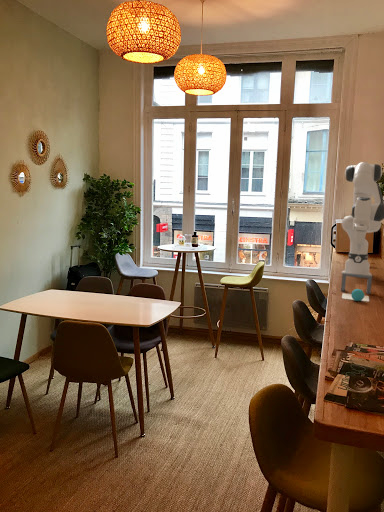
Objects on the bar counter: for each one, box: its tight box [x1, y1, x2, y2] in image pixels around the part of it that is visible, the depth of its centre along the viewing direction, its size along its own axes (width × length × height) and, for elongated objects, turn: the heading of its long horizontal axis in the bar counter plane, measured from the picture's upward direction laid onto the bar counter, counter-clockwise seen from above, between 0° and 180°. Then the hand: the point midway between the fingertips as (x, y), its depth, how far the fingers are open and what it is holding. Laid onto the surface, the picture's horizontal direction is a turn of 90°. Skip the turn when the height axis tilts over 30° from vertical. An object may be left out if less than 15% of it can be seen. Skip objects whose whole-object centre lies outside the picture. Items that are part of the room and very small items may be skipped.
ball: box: [350, 288, 365, 302], centre depth 228 cm, size 6×6×6 cm
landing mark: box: [341, 292, 370, 303], centre depth 236 cm, size 13×13×1 cm
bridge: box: [340, 273, 373, 295], centre depth 249 cm, size 3×15×10 cm, turn 71°
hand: (359, 251), depth 258 cm, fingers closed
